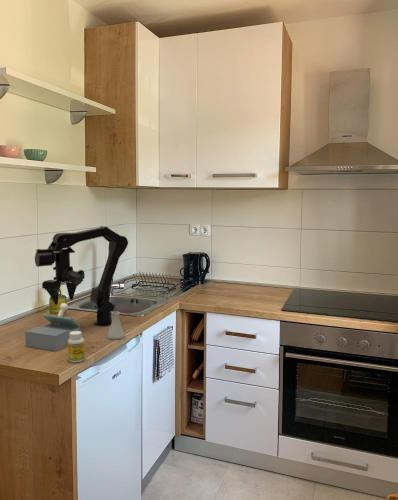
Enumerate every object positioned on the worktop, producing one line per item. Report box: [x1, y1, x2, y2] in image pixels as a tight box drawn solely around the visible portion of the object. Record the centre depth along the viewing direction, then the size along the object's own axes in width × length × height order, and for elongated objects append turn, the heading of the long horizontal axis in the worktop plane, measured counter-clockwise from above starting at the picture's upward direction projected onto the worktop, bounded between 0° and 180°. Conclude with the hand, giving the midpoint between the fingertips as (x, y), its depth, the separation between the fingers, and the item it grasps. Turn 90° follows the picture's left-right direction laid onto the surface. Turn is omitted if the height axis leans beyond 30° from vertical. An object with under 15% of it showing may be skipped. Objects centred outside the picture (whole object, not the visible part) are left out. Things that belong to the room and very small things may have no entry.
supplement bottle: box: [67, 330, 86, 363], centre depth 154 cm, size 5×5×10 cm
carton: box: [24, 322, 81, 352], centre depth 171 cm, size 14×14×6 cm
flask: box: [106, 311, 126, 341], centre depth 178 cm, size 7×7×10 cm
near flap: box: [41, 302, 81, 328], centre depth 177 cm, size 7×14×7 cm
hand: (64, 302), depth 185 cm, fingers open, 9 cm apart
